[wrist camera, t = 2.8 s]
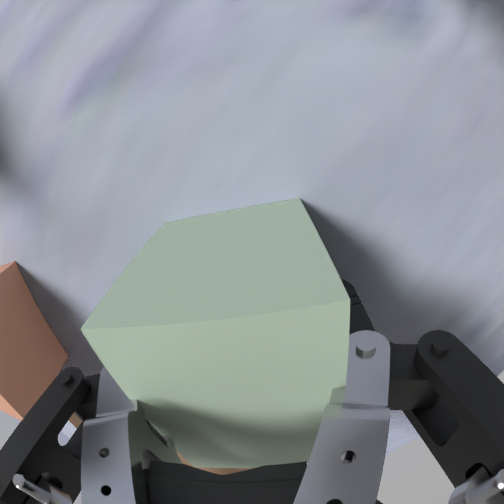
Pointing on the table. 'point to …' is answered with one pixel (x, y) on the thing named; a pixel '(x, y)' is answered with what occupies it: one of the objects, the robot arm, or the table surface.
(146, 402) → the brick
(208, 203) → the table surface
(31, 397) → the brick
